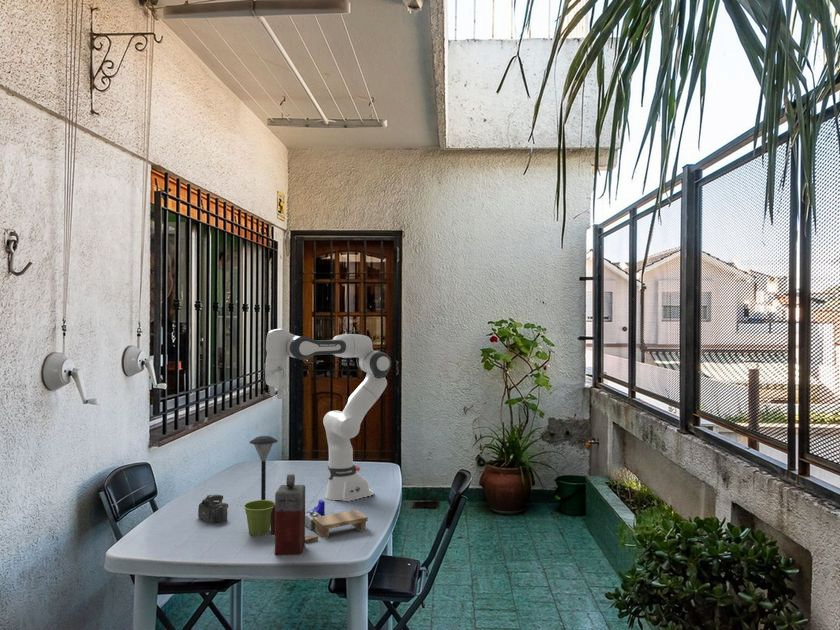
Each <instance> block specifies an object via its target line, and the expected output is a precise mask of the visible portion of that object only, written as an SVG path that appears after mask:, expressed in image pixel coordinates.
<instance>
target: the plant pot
mask: <svg viewBox="0 0 840 630" xmlns="http://www.w3.org/2000/svg"><path fill="white" fill-rule="evenodd" d="M274 504H275V501H274V500H273V501H272V500H267V499H265V500H261V499H258V500H252V501H248V502H246V503H244V504H243V508H244V509H245V511H244V512H245V514H246V521H247V528H248V529H247V530H248V534H249V535H251V536H261V535H266V534H268V533H269V532H270V531H271V511H272V508H273V506H274Z"/></svg>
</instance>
